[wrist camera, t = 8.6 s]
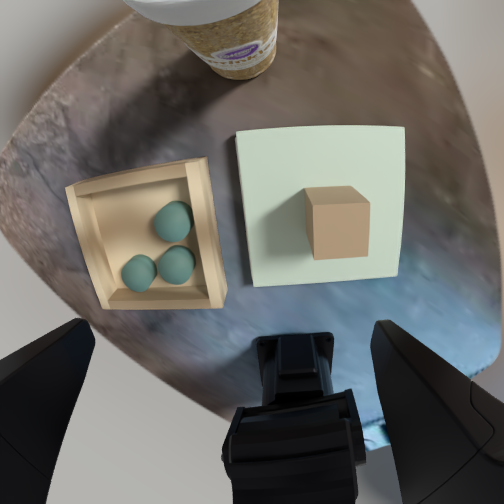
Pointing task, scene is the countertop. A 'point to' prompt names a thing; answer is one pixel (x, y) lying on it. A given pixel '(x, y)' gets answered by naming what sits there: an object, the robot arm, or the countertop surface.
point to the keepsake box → (151, 237)
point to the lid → (323, 202)
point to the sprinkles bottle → (221, 31)
